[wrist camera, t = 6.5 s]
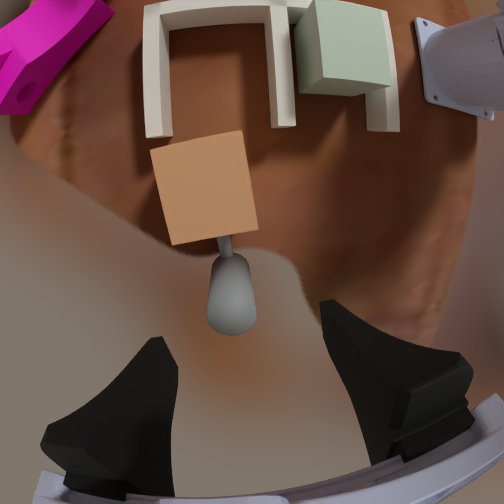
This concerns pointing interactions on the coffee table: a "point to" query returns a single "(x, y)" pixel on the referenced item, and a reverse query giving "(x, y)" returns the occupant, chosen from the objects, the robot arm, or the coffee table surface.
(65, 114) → the coffee table surface
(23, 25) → the toy block
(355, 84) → the green block
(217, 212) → the handled block
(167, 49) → the rack
